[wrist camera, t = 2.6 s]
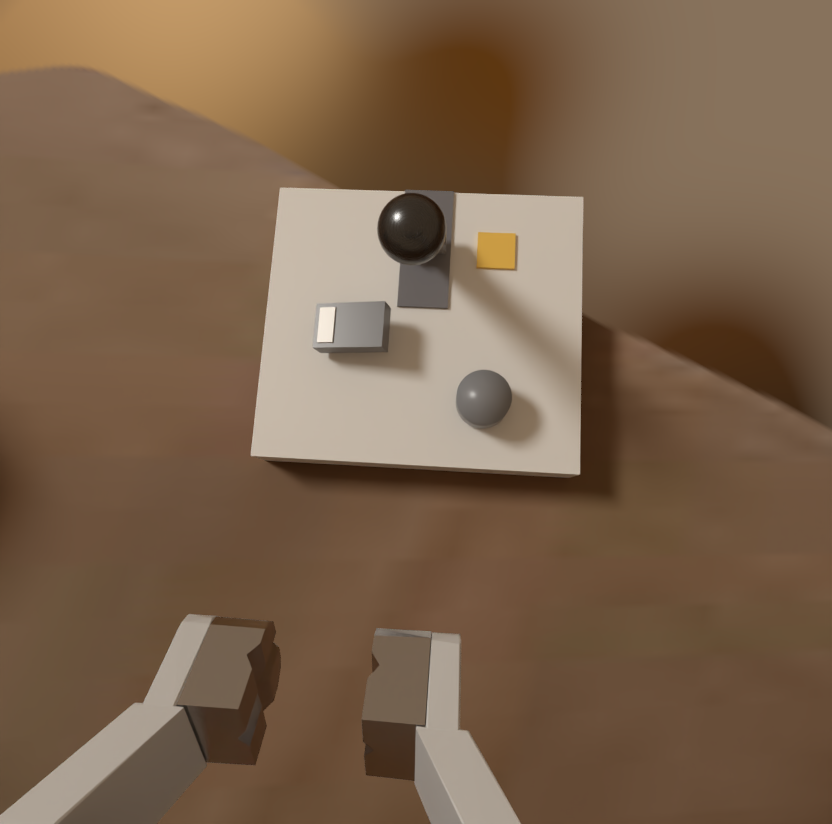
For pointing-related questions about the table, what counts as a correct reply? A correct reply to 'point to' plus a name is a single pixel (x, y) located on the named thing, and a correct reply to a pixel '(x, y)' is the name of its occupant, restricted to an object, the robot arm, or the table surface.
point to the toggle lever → (412, 229)
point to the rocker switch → (352, 327)
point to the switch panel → (426, 335)
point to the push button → (483, 399)
